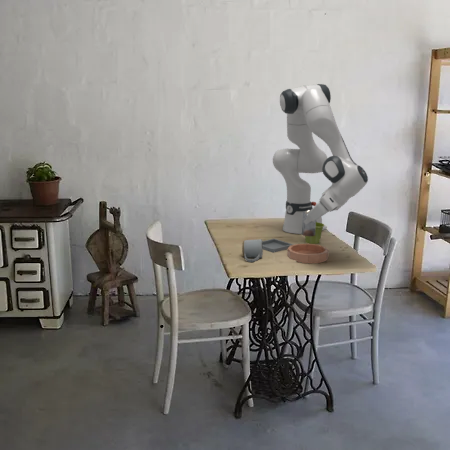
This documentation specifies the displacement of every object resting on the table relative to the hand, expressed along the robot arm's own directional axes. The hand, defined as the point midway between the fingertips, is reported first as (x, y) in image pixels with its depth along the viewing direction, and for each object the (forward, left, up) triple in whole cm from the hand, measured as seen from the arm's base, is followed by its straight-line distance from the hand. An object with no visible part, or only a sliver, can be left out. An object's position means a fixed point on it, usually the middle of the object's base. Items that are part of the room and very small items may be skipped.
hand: (307, 221), depth 230 cm
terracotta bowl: (0, +1, -15) cm, 15 cm away
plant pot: (-17, -12, -15) cm, 26 cm away
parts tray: (+2, -17, -15) cm, 23 cm away
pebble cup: (0, +1, -6) cm, 6 cm away
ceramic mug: (+18, -12, -15) cm, 27 cm away
